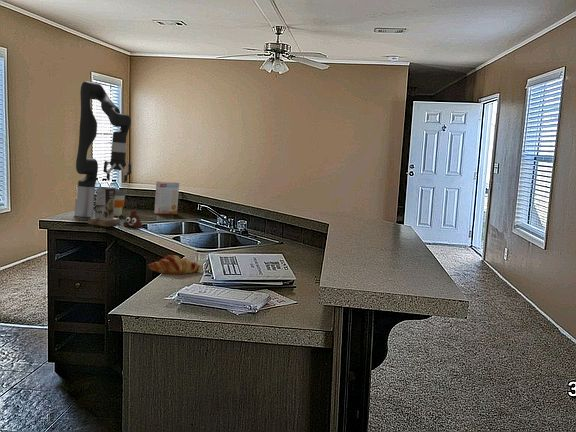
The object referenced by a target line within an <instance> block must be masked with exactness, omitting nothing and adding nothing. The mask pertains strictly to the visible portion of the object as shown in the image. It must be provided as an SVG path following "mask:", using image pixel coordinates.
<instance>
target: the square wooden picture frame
mask: <svg viewBox="0 0 576 432" xmlns="http://www.w3.org/2000/svg"><path fill="white" fill-rule="evenodd" d="M120 222H121V219H120V218H118V217H113V218H110V219H99V218H95V216H93V217H87V225H95V226H101V227H107V228H108V227H109V228H110V227H113V226H118V225H120V224H121V223H120Z"/></svg>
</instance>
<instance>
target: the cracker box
mask: <svg viewBox="0 0 576 432" xmlns="http://www.w3.org/2000/svg"><path fill="white" fill-rule="evenodd" d="M179 189H180V182H177V181H161V180H159V181H156V183H155V197H154V212H153V213H154V214H155V215H177V214H178V205H179V204H178V203H179Z"/></svg>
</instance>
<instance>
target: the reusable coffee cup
mask: <svg viewBox="0 0 576 432" xmlns="http://www.w3.org/2000/svg"><path fill="white" fill-rule="evenodd" d="M114 189H115V202H114V216H113V217H115V216H116V217H117V216H118V217H119V216H122V212H123V208H124V206H125V202H126V200H125V198H126V196H127V194H126V190H125V189H121V188H114Z"/></svg>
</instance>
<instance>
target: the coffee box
mask: <svg viewBox="0 0 576 432" xmlns="http://www.w3.org/2000/svg"><path fill="white" fill-rule="evenodd" d="M115 189H116V188H112V187H97V188H96V196H95V198H96V199H95V211H94V213H95V214H94V217H95V218H99V219H110V218H114V217H115V216H114V202H115Z"/></svg>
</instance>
